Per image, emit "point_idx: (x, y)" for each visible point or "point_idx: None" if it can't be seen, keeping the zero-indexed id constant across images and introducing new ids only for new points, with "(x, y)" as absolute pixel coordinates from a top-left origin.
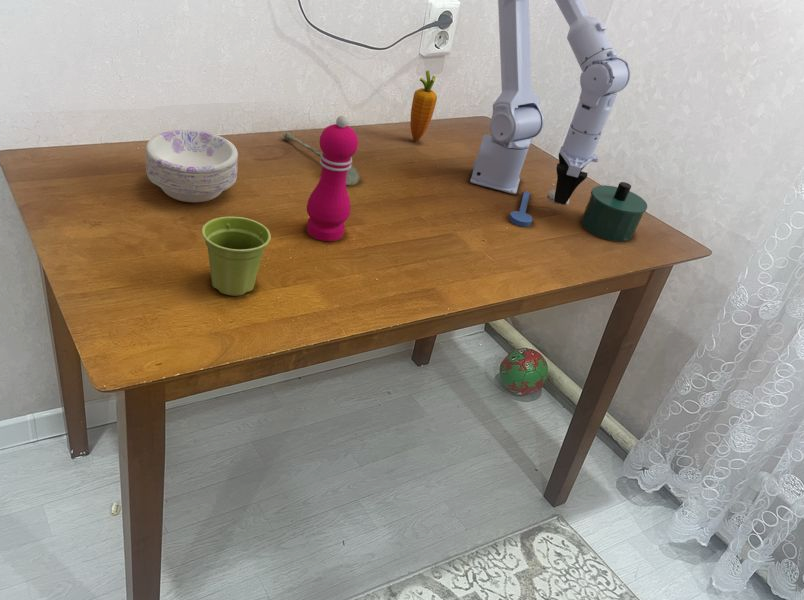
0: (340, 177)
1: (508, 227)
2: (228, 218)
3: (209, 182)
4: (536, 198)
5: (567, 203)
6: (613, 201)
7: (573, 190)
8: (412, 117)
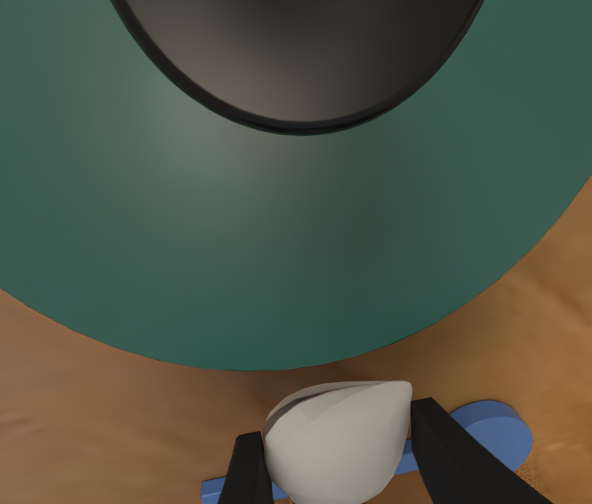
0: None
1: (547, 444)
2: None
3: None
4: (198, 454)
5: (409, 390)
6: (459, 95)
7: (541, 495)
8: None
